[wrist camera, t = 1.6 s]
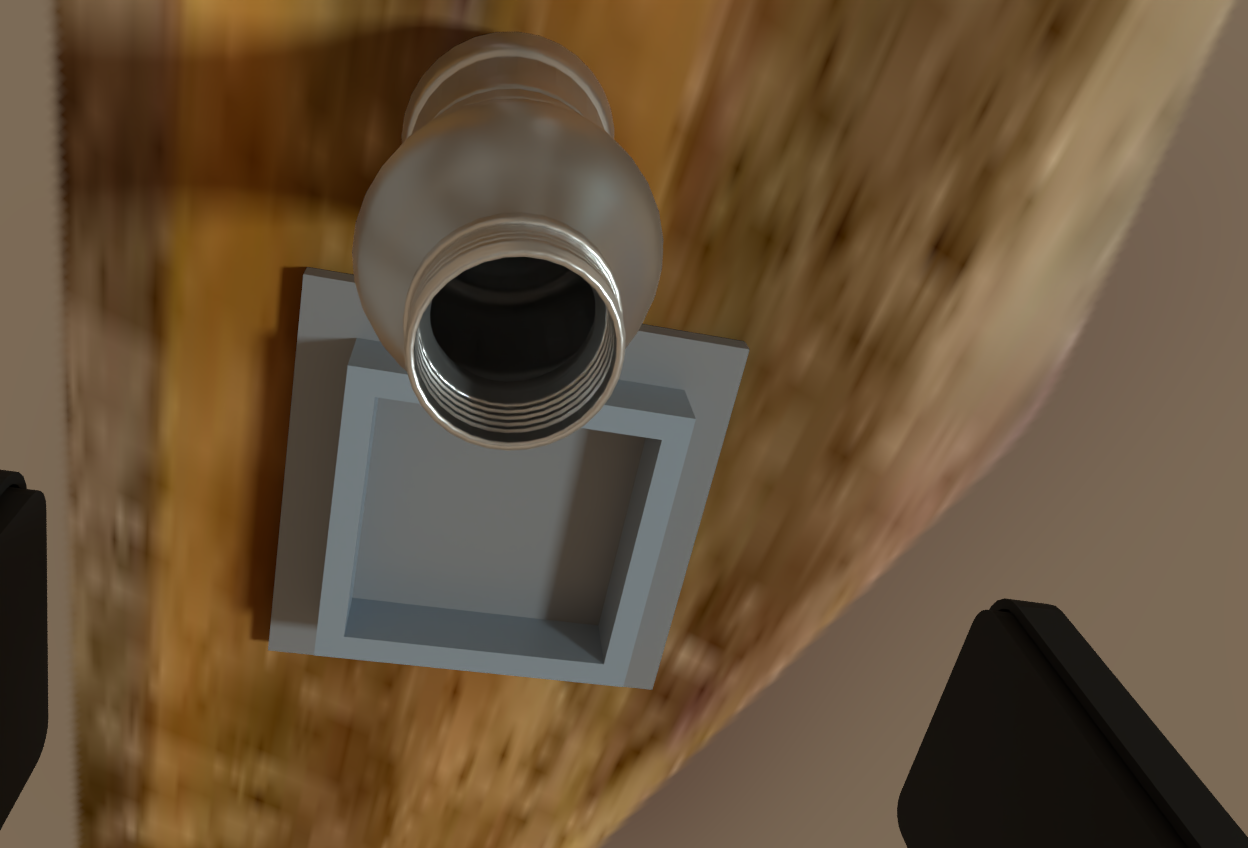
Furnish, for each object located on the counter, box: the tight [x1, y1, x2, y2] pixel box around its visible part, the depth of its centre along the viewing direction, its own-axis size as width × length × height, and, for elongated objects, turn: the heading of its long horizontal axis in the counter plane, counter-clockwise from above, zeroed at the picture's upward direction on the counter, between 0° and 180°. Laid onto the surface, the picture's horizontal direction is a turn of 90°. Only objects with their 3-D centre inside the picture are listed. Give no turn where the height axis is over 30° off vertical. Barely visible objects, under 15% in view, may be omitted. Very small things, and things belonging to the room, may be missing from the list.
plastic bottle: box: [352, 32, 663, 451], centre depth 26 cm, size 6×7×20 cm
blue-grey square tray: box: [268, 267, 749, 690], centre depth 40 cm, size 16×16×3 cm
